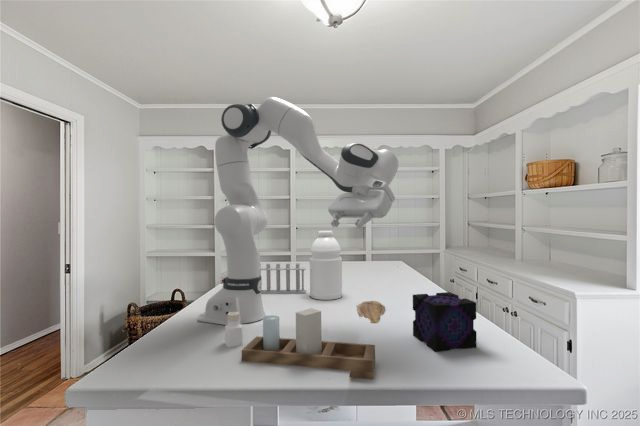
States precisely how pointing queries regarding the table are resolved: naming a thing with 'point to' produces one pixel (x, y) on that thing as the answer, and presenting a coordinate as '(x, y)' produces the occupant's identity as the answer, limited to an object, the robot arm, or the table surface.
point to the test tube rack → (286, 280)
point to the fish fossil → (371, 310)
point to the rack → (317, 356)
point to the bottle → (325, 267)
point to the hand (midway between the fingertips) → (345, 226)
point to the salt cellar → (271, 333)
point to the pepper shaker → (233, 330)
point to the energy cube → (444, 321)
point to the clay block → (308, 332)
